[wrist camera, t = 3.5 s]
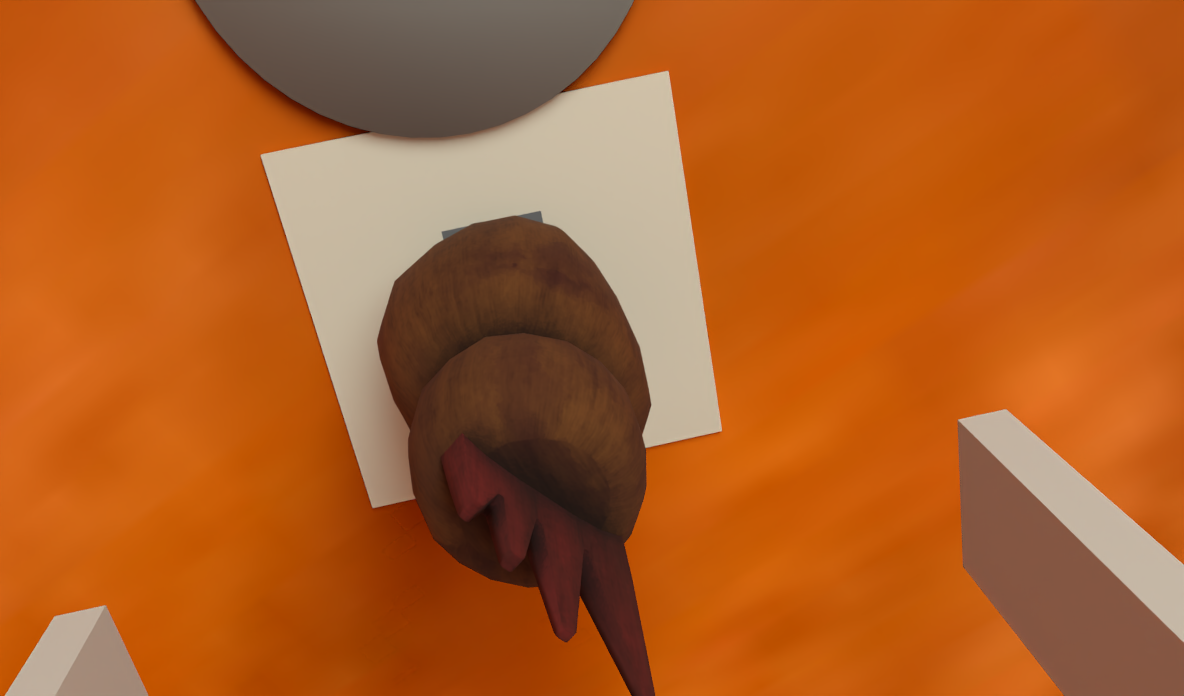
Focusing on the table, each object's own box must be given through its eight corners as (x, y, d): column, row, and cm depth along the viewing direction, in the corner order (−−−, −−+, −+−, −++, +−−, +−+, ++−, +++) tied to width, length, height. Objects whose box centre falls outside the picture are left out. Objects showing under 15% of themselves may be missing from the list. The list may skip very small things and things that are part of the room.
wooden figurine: (651, 351, 29) (819, 711, 15) (482, 441, 29) (494, 870, 16) (541, 151, 26) (623, 364, 13) (358, 253, 27) (242, 566, 13)
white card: (372, 506, 30) (372, 508, 30) (261, 154, 26) (260, 155, 26) (720, 429, 30) (721, 431, 30) (667, 70, 26) (668, 71, 26)
